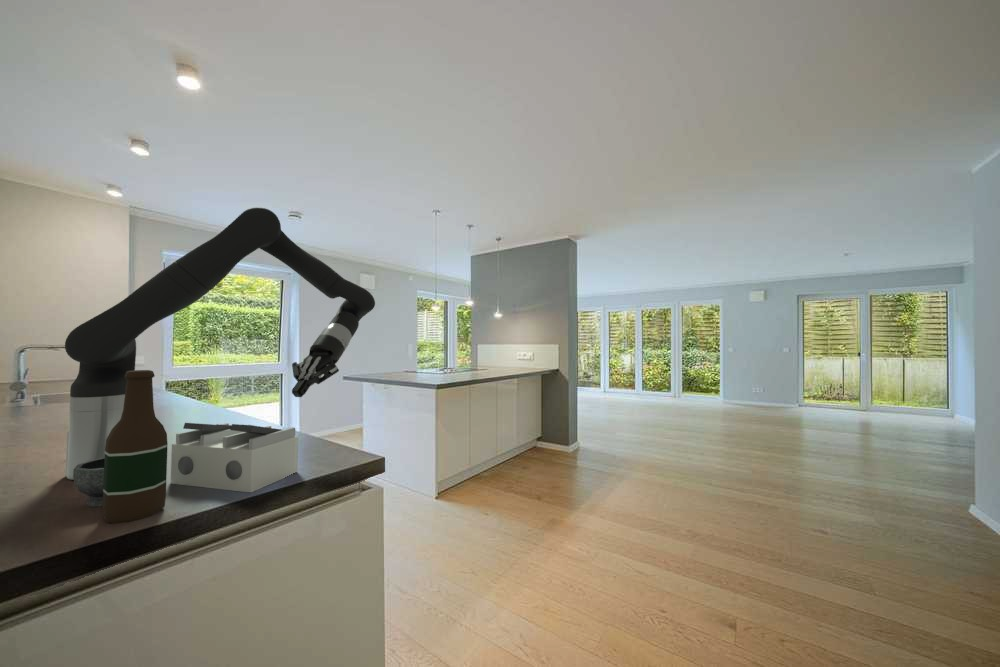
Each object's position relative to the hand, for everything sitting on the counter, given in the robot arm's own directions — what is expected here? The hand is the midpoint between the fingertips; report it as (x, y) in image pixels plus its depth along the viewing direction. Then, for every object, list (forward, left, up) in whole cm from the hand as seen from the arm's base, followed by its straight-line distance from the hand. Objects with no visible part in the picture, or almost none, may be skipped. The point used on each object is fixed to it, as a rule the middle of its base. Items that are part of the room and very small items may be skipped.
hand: (296, 395), depth 89 cm
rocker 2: (0, -10, -6) cm, 12 cm away
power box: (-6, -10, -17) cm, 20 cm away
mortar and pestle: (-18, -24, -17) cm, 34 cm away
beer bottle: (-7, -28, -17) cm, 33 cm away
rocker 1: (-12, -10, -6) cm, 17 cm away
